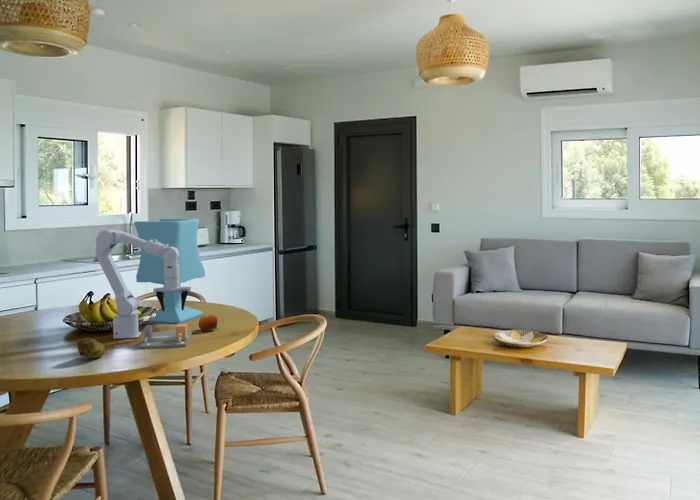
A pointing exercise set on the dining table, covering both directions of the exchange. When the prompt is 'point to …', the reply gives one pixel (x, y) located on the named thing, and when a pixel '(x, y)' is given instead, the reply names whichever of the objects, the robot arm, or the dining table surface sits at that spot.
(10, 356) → the dining table surface
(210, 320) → the fruit
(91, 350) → the potato
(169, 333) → the board
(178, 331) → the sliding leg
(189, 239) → the lamp with square shade
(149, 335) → the fixed leg
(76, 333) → the dining table surface
